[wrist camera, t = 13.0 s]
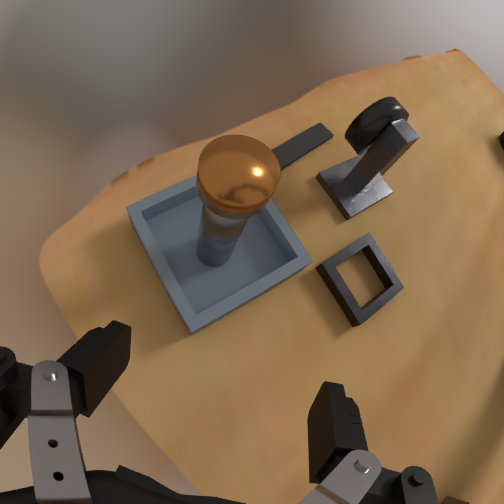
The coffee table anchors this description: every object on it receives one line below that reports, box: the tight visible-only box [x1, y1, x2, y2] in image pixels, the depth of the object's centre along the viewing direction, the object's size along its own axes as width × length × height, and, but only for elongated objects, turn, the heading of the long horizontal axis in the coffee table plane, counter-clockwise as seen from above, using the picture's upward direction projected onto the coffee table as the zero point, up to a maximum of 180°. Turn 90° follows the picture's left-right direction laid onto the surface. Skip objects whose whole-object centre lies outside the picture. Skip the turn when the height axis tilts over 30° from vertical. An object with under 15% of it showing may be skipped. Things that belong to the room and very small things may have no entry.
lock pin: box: [196, 135, 281, 267], centre depth 22 cm, size 4×4×13 cm
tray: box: [126, 175, 313, 335], centre depth 28 cm, size 12×12×3 cm
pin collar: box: [316, 233, 404, 327], centre depth 30 cm, size 7×7×2 cm
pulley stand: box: [316, 97, 419, 220], centre depth 29 cm, size 8×7×12 cm
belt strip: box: [271, 123, 333, 171], centre depth 34 cm, size 14×2×1 cm, turn 132°
